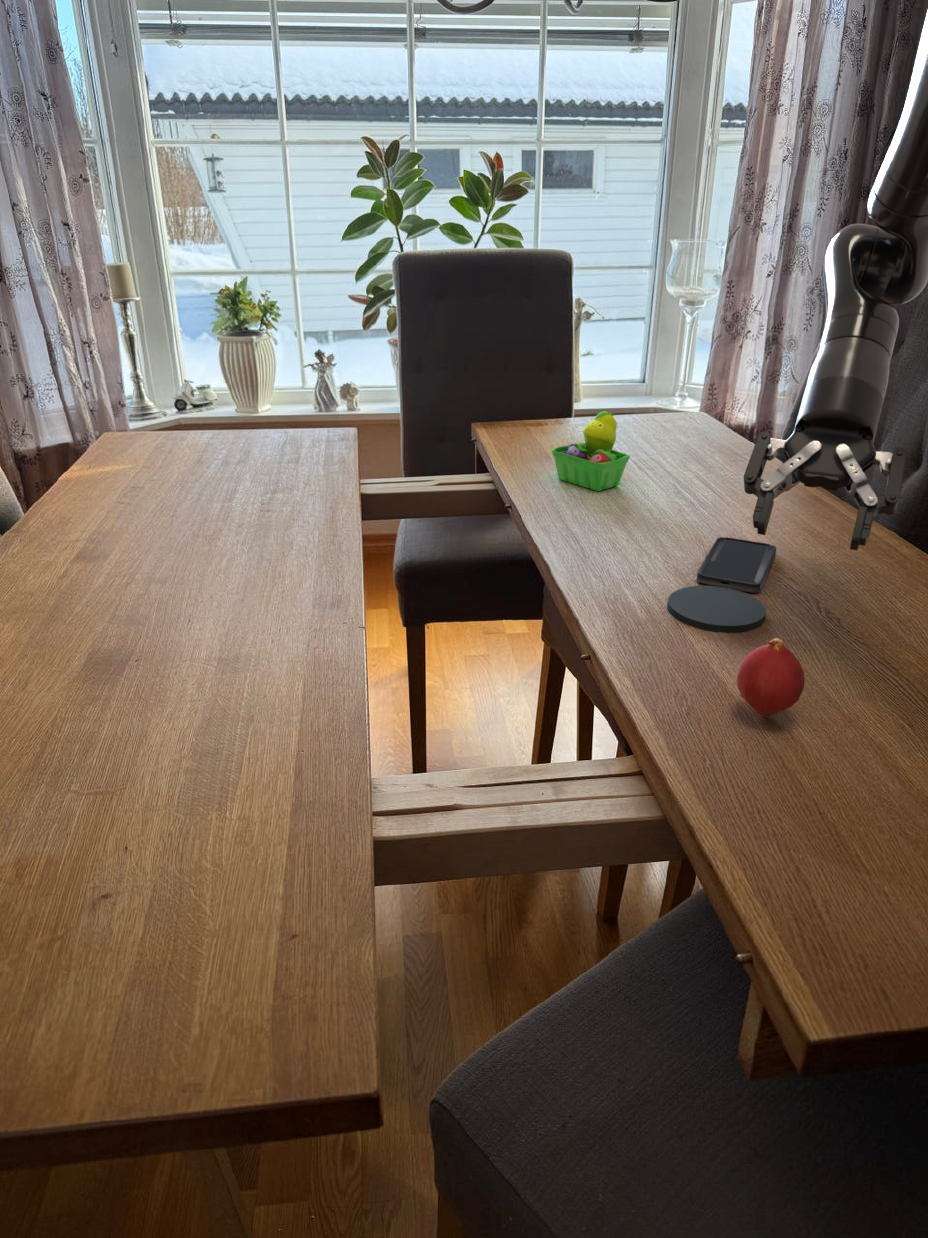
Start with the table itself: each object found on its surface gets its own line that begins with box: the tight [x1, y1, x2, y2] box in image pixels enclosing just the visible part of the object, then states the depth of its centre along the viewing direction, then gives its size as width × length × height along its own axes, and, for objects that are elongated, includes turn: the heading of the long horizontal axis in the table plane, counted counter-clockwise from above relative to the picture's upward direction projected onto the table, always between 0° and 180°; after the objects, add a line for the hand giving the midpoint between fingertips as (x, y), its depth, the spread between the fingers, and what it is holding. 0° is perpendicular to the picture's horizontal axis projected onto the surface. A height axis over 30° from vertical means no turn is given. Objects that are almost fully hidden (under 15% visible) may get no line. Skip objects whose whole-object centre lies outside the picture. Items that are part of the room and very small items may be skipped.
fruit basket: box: [551, 410, 631, 492], centre depth 145 cm, size 11×9×11 cm
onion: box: [736, 637, 806, 717], centre depth 80 cm, size 6×6×8 cm
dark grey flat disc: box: [666, 585, 767, 633], centre depth 102 cm, size 11×11×1 cm
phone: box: [695, 536, 777, 594], centre depth 114 cm, size 8×1×15 cm
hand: (806, 538), depth 85 cm, fingers open, 8 cm apart
